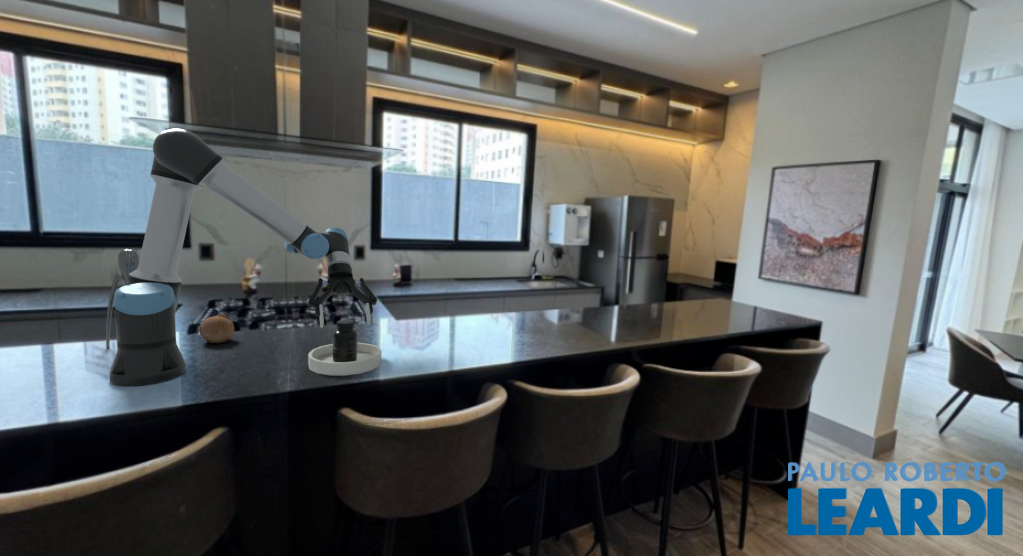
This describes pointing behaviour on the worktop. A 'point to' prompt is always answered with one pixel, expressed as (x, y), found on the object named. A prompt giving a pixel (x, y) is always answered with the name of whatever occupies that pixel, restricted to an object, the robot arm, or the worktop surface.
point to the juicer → (127, 264)
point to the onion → (217, 329)
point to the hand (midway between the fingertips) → (346, 324)
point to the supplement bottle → (345, 342)
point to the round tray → (324, 364)
